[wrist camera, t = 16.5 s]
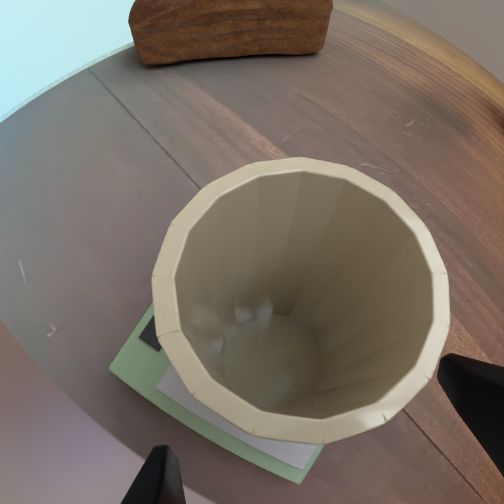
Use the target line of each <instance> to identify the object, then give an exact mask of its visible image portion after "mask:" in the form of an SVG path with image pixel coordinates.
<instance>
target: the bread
mask: <svg viewBox="0 0 504 504" xmlns="http://www.w3.org/2000/svg"><path fill="white" fill-rule="evenodd" d="M332 9H333V2H332V0H136V1H135V2H134V4H133V6H132V8H131V11H130V14H129V20H128V23H129V26H130V28H131V33H132V36H133V40H134V44H135V47H136V49H137V51H138V53H139V55H140V57H141V59H142V61H143V63H145V64H150V65H161V64H172V63H176V62H181V61H187V60H194V59H203V58H214V57H234V56H245V55H254V54H297V55H300V54H309V53H315V52H318V51H319V50H321V49H322V48H323V46H324V42H325V37H326V34H327V30H328V25H329V20H330V14H331V11H332Z"/></svg>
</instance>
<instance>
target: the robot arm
mask: <svg viewBox="0 0 504 504" xmlns="http://www.w3.org/2000/svg"><path fill="white" fill-rule="evenodd" d="M437 379H438V382H439V383H440V385H441V386H442V388H443V390H444V391H445V393H446V395H447V396H448V398H449V400H450V401H451V403H452V405H453V407H454V408H455V410H456V411H457V413H458V414H459V416H460V417H461V418H462V420H463V421H464V422H465V424H466V425H467V426H468V428H469V429H470V430H471V432H472V433H473V434H474V436H475V437H476V439H477V440H478V441H479V443H480V444H481V446H482V447H483V448H484V450H485V451H486V453H487V454H488V455H489V457H490V458H491V460H492V461H493V462H494V464H495V465H496V467H497V468H498V470H499V471H500V473H501V474H502V476H503V477H504V367H501V366H498V365H494V364H490V363H486V362H483V361H479V360H475V359H472V358H468V357H464V356H461V355H457V354H454V353H449V354H447V355H445V356H443V357H442V358H441V359H440V363H439V368H438V373H437ZM121 504H186V501H185V497H184V490H183V485H182V479H181V473H180V467H179V463H178V460H177V458H176V457H175V455H174V453H173V452H172V450H171V448H170V447H169V446H168V445H157V446H155V447H153V449H152V451H151V452H150V454H149V456H148V458H147V459H146V461H145V463H144V464H143V466H142V468H141V470H140V471H139V473H138V475H137V476H136V478H135V480H134V482H133V483H132V485H131V487H130V488H129V490H128V492H127V494H126V495H125V497H124V499H123V500H122V502H121Z"/></svg>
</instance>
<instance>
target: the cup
mask: <svg viewBox="0 0 504 504" xmlns="http://www.w3.org/2000/svg"><path fill="white" fill-rule="evenodd" d="M151 285H152V298H153V309H154V319H155V328H156V336H157V338H158V342H159V343H160V345H161V347H162V349H163V350H164V352H165V354H166V356H167V357H168V359H169V361H170V362H171V364H172V366H173V368H174V369H175V371H176V372H177V374H178V376H179V377H180V379H181V381H182V382H183V384H184V386H185V387H186V389H187V390H188V392H189V393H190V394H191V395H193V397H194V399H195V400H197V401H198V402H200V403H201V404H203V405H204V406H205V407H207V408H208V409H210V410H211V411H213V412H214V413H216V414H217V415H219V416H220V417H222V418H223V419H225V420H226V421H228V422H229V423H231V424H233V425H234V426H236V427H237V428H239V429H240V430H242V431H244V432H245V433H247V434H249V435H252V436H254V437H259V438H265V439H271V440H278V441H285V442H293V443H302V444H311V445H322V444H324V445H326V444H329V443H332V442H336V441H339V440H342V439H345V438H348V437H351V436H354V435H357V434H360V433H363V432H366V431H368V430H371V429H374V428H377V427H379V426H382V425H384V424H385V423H386V422H388V421H390V420H391V419H392V418H393V417H394V416H395V415H396V414H397V413H398V412H399V411H400V410H401V409H402V408H403V407H404V406H405V405H406V404H408V403H409V402H410V401H411V400H412V399H413V398H414V397H415V396H416V395H417V393H418V392H419V391H420V390H421V389H422V388H423V387H424V386H425V385H426V384H427V383H428V382H429V380H430V379H431V377H432V375H433V373H434V370H435V368H436V365H437V363H438V360H439V357H440V355H441V352H442V349H443V347H444V344H445V341H446V338H447V335H448V332H449V329H450V327H449V326H450V300H449V283H448V275H447V270H446V268H445V266H444V263H443V261H442V258H441V256H440V254H439V251H438V249H437V247H436V245H435V242H434V240H433V238H432V236H431V234H430V232H429V229H428V228H426V225H425V224H424V223H423V222H422V220H421V219H420V218H419V217H418V216H417V215H416V214H415V213H414V212H413V211H412V210H411V208H410V207H409V206H408V205H407V204H406V203H405V202H404V201H403V200H402V199H401V198H400V197H399V196H398V195H397V194H396V193H395V192H394V191H392V190H391V189H390V188H388V187H387V186H385V185H383V184H381V183H379V182H378V181H376V180H374V179H372V178H370V177H369V176H367V175H365V174H363V173H361V172H359V171H357V170H356V169H354V168H352V167H348V166H346V165H341V164H336V163H332V162H327V161H321V160H316V159H311V158H305V157H301V158H300V157H293V158H284V159H275V160H267V161H260V162H253V163H252V164H247V165H245V166H243V167H241V168H239V169H237V170H235V171H233V172H231V173H229V174H227V175H225V176H223V177H220V178H218V179H216V180H215V181H213V182H211V183H209V184H207V185H206V186H204V187H203V188H202V189H201V190H200V191H199V192H198V193H197V194H196V195H195V197H194V198H193V199H192V200H191V201H190V202H189V203H188V204H187V205H186V206H185V207H184V208H183V210H182V211H181V212H180V213H179V214H178V215H177V216H176V217H175V218H174V219H173V221H172V222H171V225H169V228H168V230H167V233H166V236H165V238H164V241H163V244H162V247H161V250H160V253H159V255H158V258H157V261H156V264H155V267H154V270H153V273H152V278H151Z"/></svg>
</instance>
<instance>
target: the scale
mask: <svg viewBox="0 0 504 504" xmlns="http://www.w3.org/2000/svg"><path fill="white" fill-rule="evenodd" d="M108 369H109V370H110V371H111V372H112V373H113V374H115V375H116V376H117V377H118V378H120V379H121V380H122V381H124V382H125V383H126V384H127V385H129V386H130V387H131V388H133V389H134V390H135V391H137V392H138V393H139V394H141V395H142V396H143V397H145V398H146V399H148V400H149V401H150V402H152V403H153V404H155V405H156V406H157V407H159V408H160V409H162V410H163V411H165V412H166V413H168V414H169V415H171V416H172V417H174V418H175V419H177V420H178V421H180V422H181V423H183V424H184V425H186V426H188V427H189V428H191V429H192V430H194V431H196V432H197V433H199V434H201V435H202V436H204V437H206V438H207V439H209V440H211V441H212V442H214V443H216V444H218V445H219V446H221V447H223V448H225V449H227V450H228V451H230V452H232V453H234V454H236V455H238V456H239V457H241V458H243V459H245V460H247V461H249V462H251V463H253V464H255V465H257V466H259V467H261V468H263V469H265V470H267V471H270V472H272V473H274V474H276V475H278V476H280V477H283V478H285V479H287V480H290V481H292V482H294V483H297V484H301V482H302V481H303V479H304V478H305V476H306V475H307V473H308V471H309V470H310V468H311V467H312V465H313V463H314V462H315V460H316V459H317V457H318V455H319V454H320V452H321V450H322V448H323V447H324V444H322V445H311V444H302V443H293V442H285V441H278V440H271V439H265V438H259V437H254V436H252V435H249V434H247V433H245V432H244V431H242V430H240V429H239V428H237V427H236V426H234V425H233V424H231V423H229V422H228V421H226V420H225V419H223V418H222V417H220V416H219V415H217V414H216V413H214V412H213V411H211V410H210V409H208V408H207V407H205V406H204V405H203V404H201V403H200V402H198V401H197V400H195V399H194V397H193V395H191V394H190V393H189V392H188V390H187V389H186V387H185V386H184V384H183V382H182V381H181V379H180V377H179V376H178V374H177V372H176V371H175V369H174V368H173V366H172V364H171V362H170V361H169V359H168V357H167V356H166V354H165V352H164V350H163V349H162V347H161V345H160V343H159V342H158V338H157V336H156V328H155V319H154V309H153V303H152V304H151V306H150V307H149V309H148V310H147V311H146V313H145V314H144V316H143V317H142V319H141V320H140V322H139V323H138V324H137V326H136V327H135V329H134V330H133V332H132V333H131V335H130V336H129V338H128V339H127V341H126V342H125V344H124V345H123V347H122V348H121V350H120V351H119V353H118V354H117V356H116V357H115V359H114V360H113V362H112V363H111V365H110V366H109V368H108Z"/></svg>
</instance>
